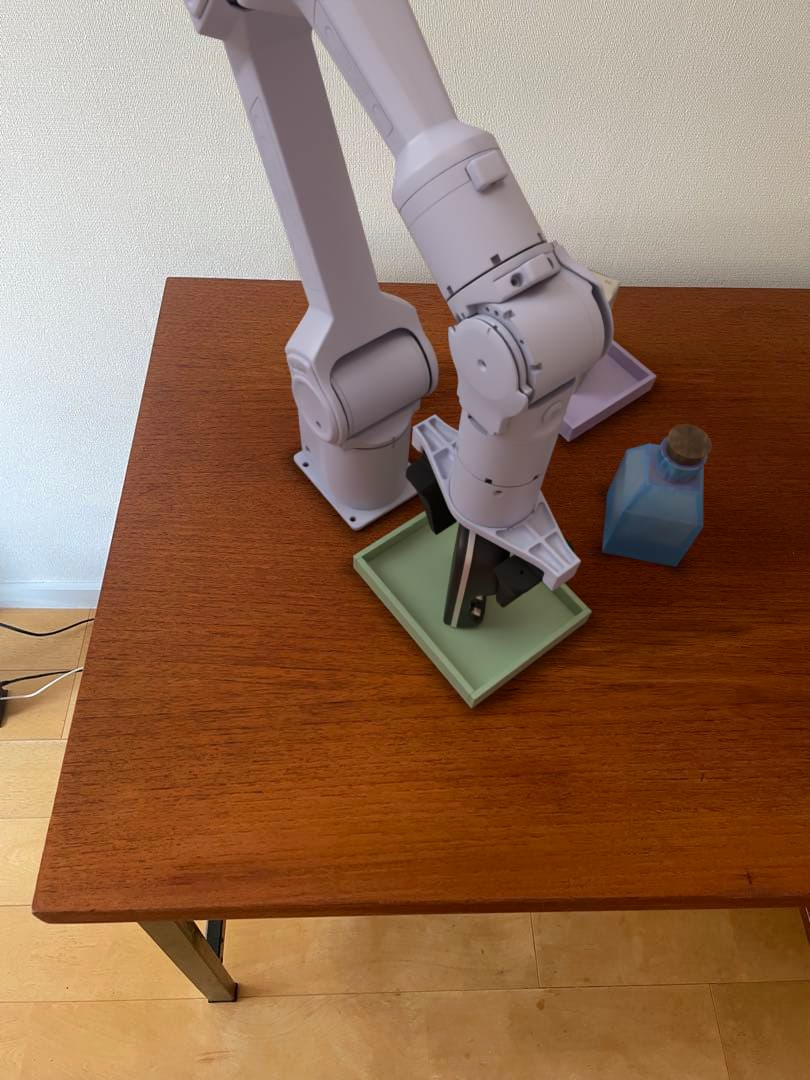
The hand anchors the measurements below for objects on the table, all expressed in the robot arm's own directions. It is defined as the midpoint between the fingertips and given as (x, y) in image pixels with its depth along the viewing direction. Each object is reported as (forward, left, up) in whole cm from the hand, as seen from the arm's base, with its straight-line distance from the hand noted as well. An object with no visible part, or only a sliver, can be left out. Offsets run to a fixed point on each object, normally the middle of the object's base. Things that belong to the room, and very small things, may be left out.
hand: (475, 560), depth 60 cm
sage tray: (0, 0, -5) cm, 5 cm away
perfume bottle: (+4, +16, -6) cm, 17 cm away
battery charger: (0, 0, -5) cm, 5 cm away
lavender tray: (-13, +23, -5) cm, 27 cm away
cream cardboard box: (-13, +23, -5) cm, 27 cm away
